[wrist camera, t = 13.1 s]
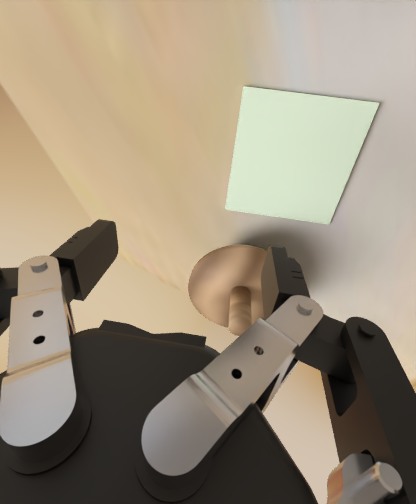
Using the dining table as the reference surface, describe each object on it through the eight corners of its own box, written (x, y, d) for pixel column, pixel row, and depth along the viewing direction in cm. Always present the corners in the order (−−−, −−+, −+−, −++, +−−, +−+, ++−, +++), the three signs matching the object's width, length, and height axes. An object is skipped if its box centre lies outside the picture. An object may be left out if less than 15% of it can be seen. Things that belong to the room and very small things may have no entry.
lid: (310, 254, 36) (325, 292, 29) (279, 331, 45) (285, 373, 39) (193, 236, 36) (181, 269, 30) (186, 316, 46) (176, 355, 39)
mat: (377, 102, 32) (379, 102, 31) (328, 222, 41) (329, 224, 40) (243, 86, 32) (243, 86, 32) (225, 208, 42) (225, 209, 41)
